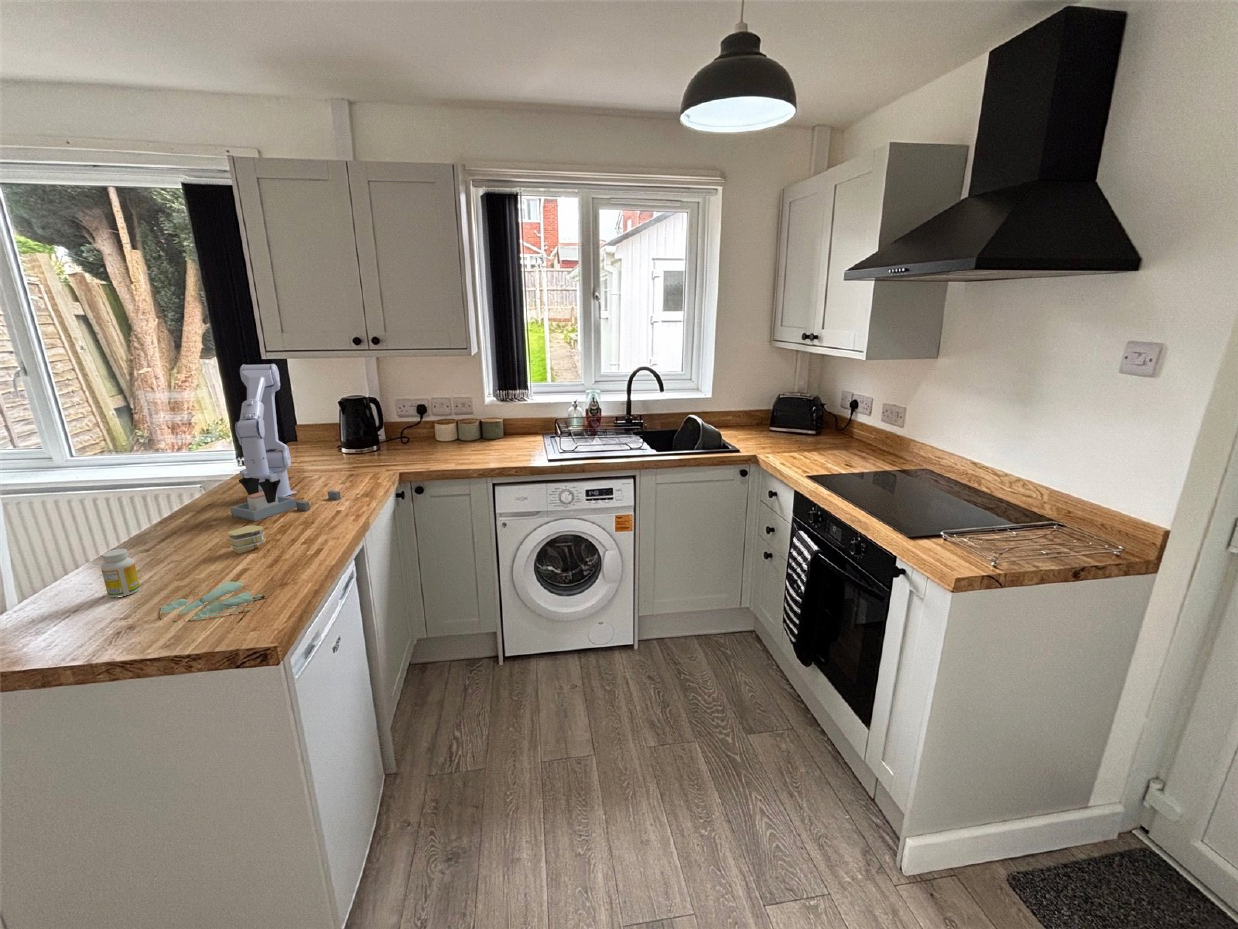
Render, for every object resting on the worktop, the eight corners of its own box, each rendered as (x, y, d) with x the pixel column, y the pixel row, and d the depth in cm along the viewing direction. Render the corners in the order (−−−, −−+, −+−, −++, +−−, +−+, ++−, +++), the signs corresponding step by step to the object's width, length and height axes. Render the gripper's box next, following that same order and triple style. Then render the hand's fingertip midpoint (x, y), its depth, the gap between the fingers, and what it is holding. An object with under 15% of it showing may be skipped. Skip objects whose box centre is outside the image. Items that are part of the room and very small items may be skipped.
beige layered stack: (237, 560, 136) (233, 539, 135) (220, 552, 141) (216, 532, 139) (278, 546, 144) (275, 527, 143) (261, 539, 149) (258, 520, 148)
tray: (231, 516, 166) (230, 507, 165) (274, 503, 178) (273, 494, 177) (255, 521, 162) (253, 511, 161) (297, 507, 174) (295, 498, 173)
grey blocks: (296, 509, 172) (295, 501, 171) (332, 497, 183) (331, 490, 183) (305, 510, 170) (304, 503, 170) (340, 498, 182) (339, 491, 181)
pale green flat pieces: (142, 613, 112) (140, 602, 112) (256, 572, 130) (254, 563, 130) (186, 642, 102) (183, 631, 101) (303, 594, 120) (301, 584, 119)
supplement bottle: (110, 601, 116) (99, 560, 113) (106, 593, 119) (95, 553, 117) (143, 592, 120) (133, 551, 117) (138, 584, 123) (128, 545, 121)
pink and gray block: (250, 512, 167) (246, 495, 166) (271, 505, 173) (268, 489, 172) (257, 514, 166) (254, 497, 164) (279, 507, 172) (276, 490, 170)
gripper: (226, 459, 164) (234, 501, 168) (258, 464, 159) (266, 507, 162) (249, 454, 171) (257, 495, 174) (281, 458, 165) (288, 500, 169)
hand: (263, 500), depth 169 cm, fingers open, 7 cm apart
